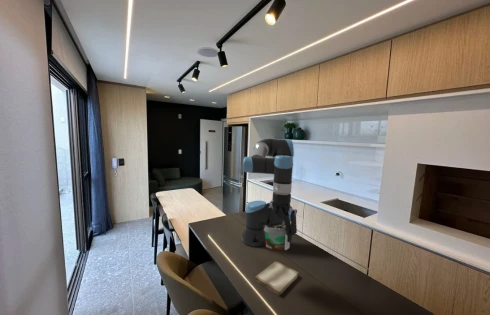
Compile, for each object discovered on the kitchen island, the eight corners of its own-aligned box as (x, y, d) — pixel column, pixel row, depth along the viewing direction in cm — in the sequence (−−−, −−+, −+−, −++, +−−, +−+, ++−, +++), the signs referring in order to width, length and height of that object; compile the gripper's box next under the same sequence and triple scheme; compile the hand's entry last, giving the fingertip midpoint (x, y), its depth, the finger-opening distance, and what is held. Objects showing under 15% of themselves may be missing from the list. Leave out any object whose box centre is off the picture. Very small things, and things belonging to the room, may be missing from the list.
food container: (271, 256, 80) (272, 232, 79) (263, 248, 86) (264, 225, 85) (295, 249, 86) (296, 226, 85) (285, 242, 91) (287, 221, 91)
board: (254, 281, 85) (254, 276, 85) (275, 264, 97) (275, 260, 97) (279, 296, 77) (279, 291, 77) (298, 276, 89) (298, 272, 89)
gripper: (257, 189, 88) (255, 239, 90) (299, 199, 75) (296, 258, 77) (267, 186, 93) (265, 234, 95) (308, 196, 80) (304, 250, 82)
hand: (278, 245), depth 86 cm, fingers closed on food container, 7 cm apart
